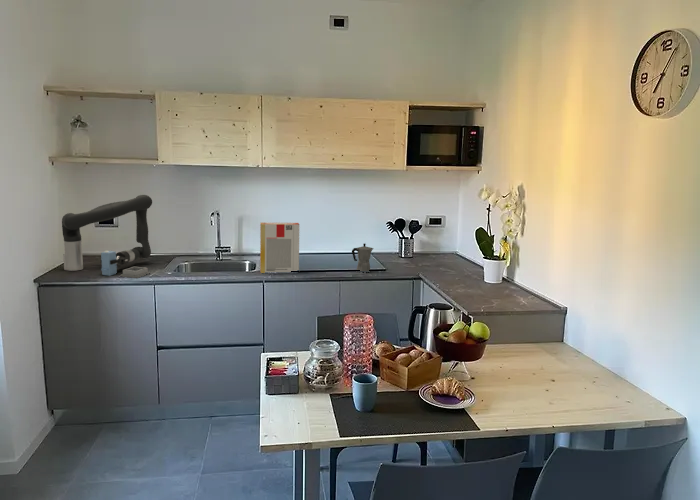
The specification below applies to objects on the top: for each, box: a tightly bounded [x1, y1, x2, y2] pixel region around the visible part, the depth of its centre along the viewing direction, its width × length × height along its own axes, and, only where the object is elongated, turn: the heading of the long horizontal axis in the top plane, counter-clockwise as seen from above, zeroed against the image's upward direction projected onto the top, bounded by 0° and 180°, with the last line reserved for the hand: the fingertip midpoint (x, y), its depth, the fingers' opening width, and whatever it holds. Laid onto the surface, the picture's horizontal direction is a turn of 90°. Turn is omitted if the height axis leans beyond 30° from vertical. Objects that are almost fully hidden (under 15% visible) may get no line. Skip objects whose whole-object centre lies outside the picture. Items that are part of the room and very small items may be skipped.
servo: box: [100, 250, 118, 276], centre depth 311 cm, size 5×9×14 cm, turn 166°
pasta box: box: [259, 222, 300, 274], centre depth 328 cm, size 23×8×30 cm, turn 100°
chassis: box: [120, 266, 151, 279], centre depth 311 cm, size 11×12×4 cm
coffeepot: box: [351, 242, 374, 271], centre depth 337 cm, size 15×9×18 cm, turn 119°
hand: (106, 262), depth 308 cm, fingers open, 5 cm apart
